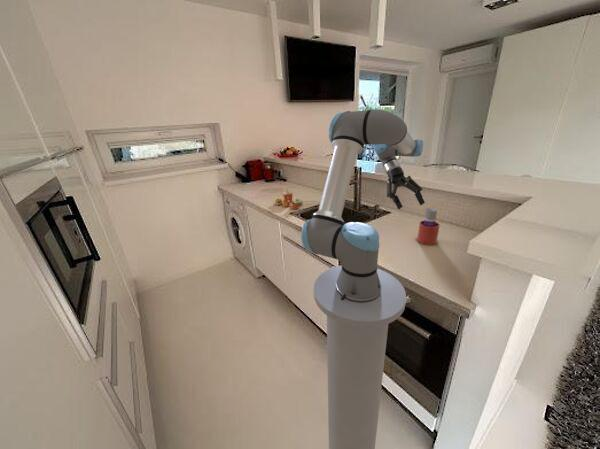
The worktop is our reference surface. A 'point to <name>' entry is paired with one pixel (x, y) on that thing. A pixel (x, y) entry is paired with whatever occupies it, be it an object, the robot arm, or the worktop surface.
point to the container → (430, 217)
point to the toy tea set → (288, 200)
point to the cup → (428, 234)
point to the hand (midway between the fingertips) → (411, 206)
